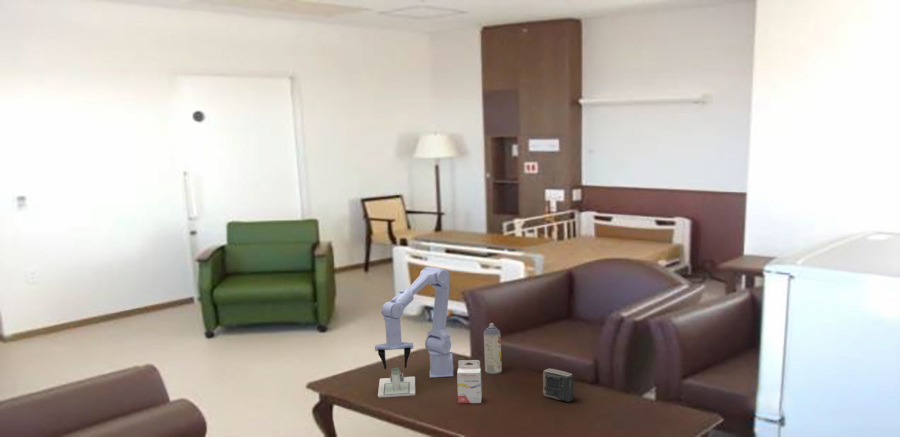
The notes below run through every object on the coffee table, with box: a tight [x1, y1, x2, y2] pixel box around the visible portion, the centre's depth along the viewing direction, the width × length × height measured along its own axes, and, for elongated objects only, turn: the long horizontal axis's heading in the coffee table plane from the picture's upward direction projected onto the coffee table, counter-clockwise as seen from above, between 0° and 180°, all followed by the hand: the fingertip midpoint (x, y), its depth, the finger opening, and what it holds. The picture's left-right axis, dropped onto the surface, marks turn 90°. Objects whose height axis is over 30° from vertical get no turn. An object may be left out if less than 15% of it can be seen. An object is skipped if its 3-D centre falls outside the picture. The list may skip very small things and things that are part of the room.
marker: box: [390, 367, 401, 391], centre depth 273 cm, size 3×3×8 cm
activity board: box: [377, 372, 416, 398], centre depth 277 cm, size 14×18×3 cm
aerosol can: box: [483, 322, 503, 375], centre depth 289 cm, size 7×7×20 cm
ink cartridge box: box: [456, 359, 483, 404], centre depth 260 cm, size 9×5×15 cm, turn 84°
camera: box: [542, 368, 574, 403], centre depth 259 cm, size 11×6×10 cm, turn 47°
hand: (395, 367), depth 272 cm, fingers open, 7 cm apart
